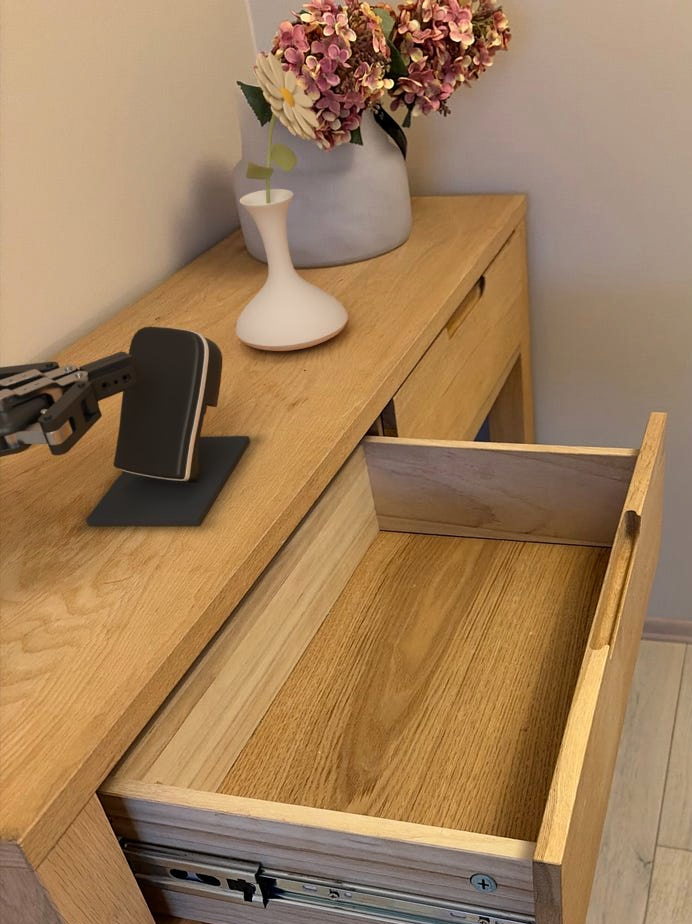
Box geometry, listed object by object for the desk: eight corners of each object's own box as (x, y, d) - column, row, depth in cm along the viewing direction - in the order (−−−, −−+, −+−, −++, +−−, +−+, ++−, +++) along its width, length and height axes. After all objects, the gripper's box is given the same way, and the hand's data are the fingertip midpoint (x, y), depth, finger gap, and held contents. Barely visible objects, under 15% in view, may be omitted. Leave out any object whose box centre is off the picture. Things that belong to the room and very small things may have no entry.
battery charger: (211, 488, 78) (234, 343, 77) (180, 481, 74) (204, 329, 73) (141, 476, 80) (162, 335, 79) (108, 469, 77) (129, 321, 76)
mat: (88, 526, 75) (85, 519, 75) (150, 443, 85) (148, 437, 85) (199, 526, 74) (197, 519, 74) (250, 441, 84) (248, 435, 83)
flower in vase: (302, 369, 94) (242, 75, 79) (216, 351, 100) (143, 71, 84) (382, 320, 103) (342, 44, 87) (298, 305, 108) (246, 42, 92)
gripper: (-100, 437, 57) (165, 338, 65) (-166, 377, 65) (78, 295, 73) (-46, 544, 62) (194, 439, 70) (-114, 476, 70) (110, 389, 78)
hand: (134, 366), depth 72 cm, fingers closed
